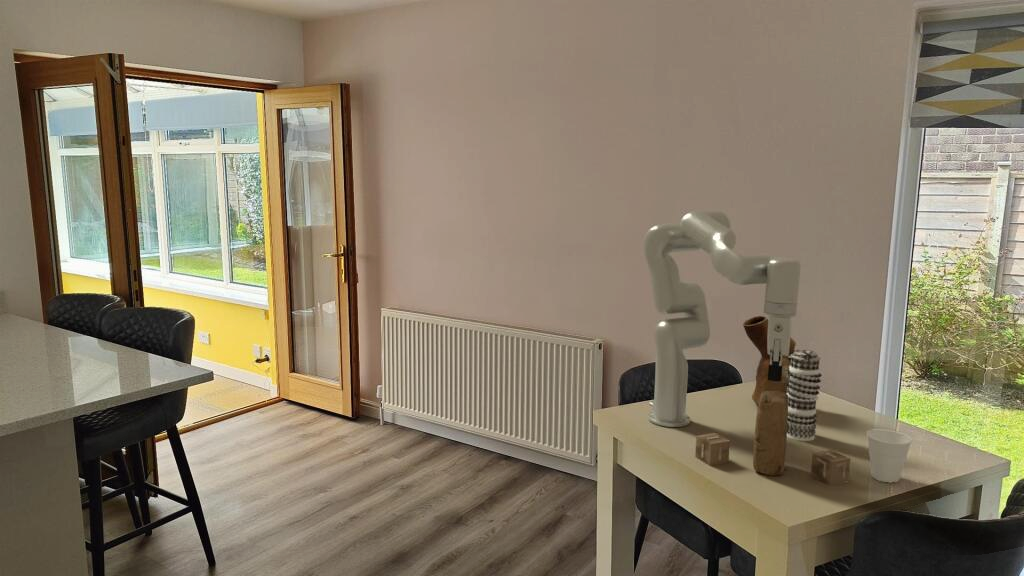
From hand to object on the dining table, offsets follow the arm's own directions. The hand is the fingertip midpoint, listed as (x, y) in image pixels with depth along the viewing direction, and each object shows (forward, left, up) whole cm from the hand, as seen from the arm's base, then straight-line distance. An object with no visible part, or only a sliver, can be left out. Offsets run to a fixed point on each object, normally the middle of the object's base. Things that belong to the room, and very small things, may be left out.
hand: (774, 379), depth 172 cm
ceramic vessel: (-38, +36, -24) cm, 57 cm away
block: (0, 0, -24) cm, 24 cm away
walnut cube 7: (+10, +10, -24) cm, 28 cm away
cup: (+15, +23, -24) cm, 36 cm away
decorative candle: (-15, +25, -24) cm, 37 cm away
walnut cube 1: (-10, -10, -24) cm, 27 cm away
